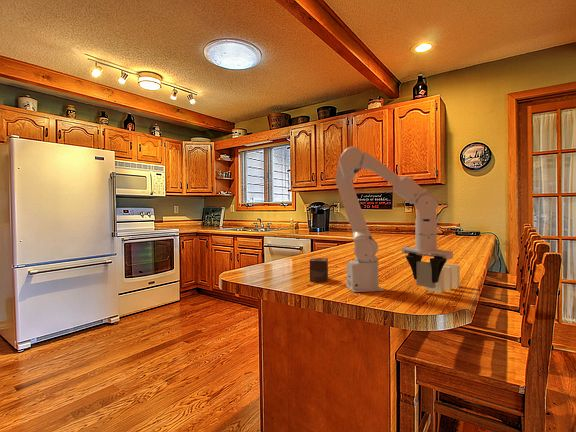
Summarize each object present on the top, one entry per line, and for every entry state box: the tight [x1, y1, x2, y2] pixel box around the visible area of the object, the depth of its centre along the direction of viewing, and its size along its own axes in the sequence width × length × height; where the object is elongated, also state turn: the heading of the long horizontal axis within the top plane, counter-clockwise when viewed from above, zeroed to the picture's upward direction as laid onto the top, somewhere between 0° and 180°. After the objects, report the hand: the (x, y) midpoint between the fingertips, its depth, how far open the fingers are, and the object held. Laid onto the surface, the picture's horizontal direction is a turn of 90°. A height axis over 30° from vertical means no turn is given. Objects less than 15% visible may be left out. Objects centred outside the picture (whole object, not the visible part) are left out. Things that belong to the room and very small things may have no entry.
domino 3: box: [442, 266, 453, 291], centre depth 98 cm, size 2×5×7 cm, turn 37°
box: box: [309, 257, 329, 283], centre depth 110 cm, size 6×6×7 cm
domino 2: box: [424, 269, 445, 294], centre depth 95 cm, size 2×5×7 cm, turn 37°
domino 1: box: [415, 260, 436, 288], centre depth 92 cm, size 2×5×7 cm, turn 37°
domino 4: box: [444, 262, 461, 289], centre depth 101 cm, size 2×5×7 cm, turn 37°
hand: (425, 280), depth 92 cm, fingers closed on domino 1, 5 cm apart
